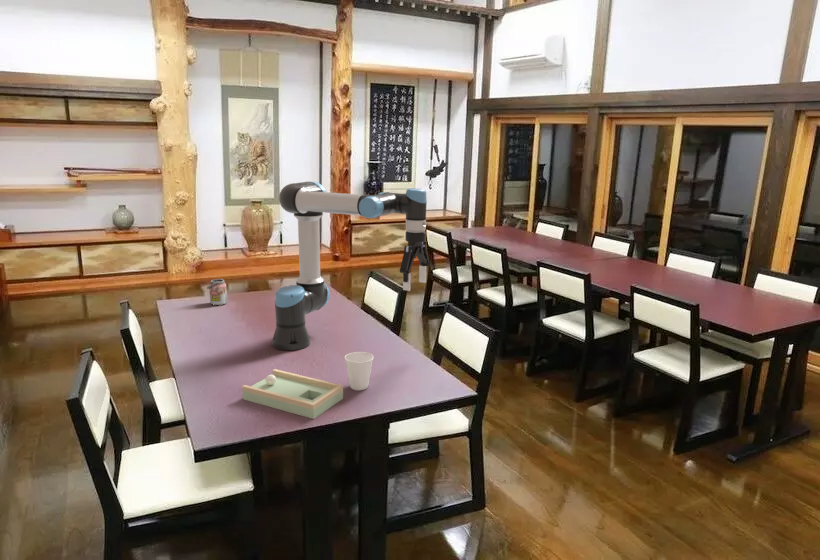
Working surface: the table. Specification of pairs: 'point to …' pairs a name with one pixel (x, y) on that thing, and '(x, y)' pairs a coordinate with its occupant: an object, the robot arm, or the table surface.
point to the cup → (359, 369)
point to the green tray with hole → (295, 394)
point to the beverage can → (218, 292)
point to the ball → (270, 379)
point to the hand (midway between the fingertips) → (414, 286)
